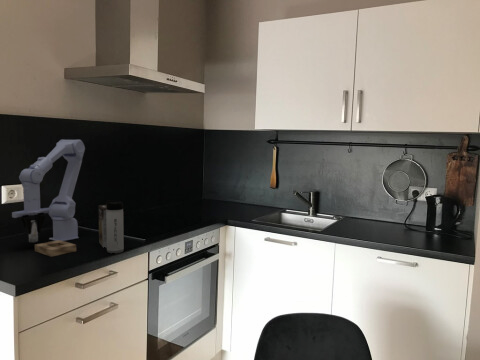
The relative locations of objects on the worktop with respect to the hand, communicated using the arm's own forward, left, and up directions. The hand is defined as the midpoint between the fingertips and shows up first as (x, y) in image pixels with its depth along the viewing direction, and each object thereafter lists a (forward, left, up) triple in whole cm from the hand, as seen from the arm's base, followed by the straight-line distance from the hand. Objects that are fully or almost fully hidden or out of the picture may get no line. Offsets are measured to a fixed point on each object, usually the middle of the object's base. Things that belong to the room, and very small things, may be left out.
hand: (33, 233), depth 158 cm
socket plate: (-3, +11, -6) cm, 13 cm away
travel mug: (-17, +29, -6) cm, 34 cm away
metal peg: (0, 0, -3) cm, 3 cm away
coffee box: (-22, +18, -6) cm, 29 cm away
